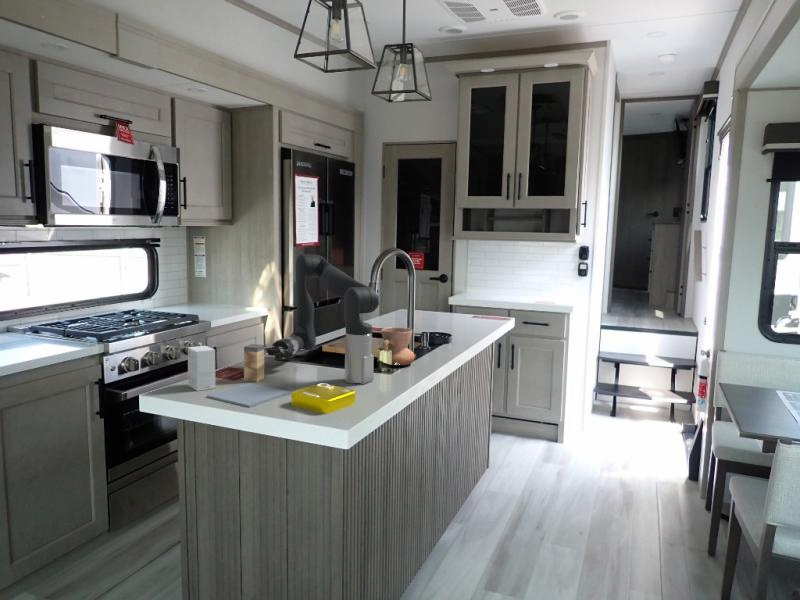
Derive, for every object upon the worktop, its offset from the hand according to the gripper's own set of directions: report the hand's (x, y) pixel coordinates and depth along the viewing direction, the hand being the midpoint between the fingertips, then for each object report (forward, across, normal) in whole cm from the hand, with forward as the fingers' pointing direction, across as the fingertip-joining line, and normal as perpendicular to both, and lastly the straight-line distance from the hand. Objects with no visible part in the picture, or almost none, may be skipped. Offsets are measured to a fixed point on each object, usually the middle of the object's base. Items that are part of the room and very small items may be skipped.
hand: (265, 356), depth 213 cm
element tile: (+26, +33, +7) cm, 42 cm away
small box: (+23, -11, +7) cm, 26 cm away
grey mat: (+26, +8, +6) cm, 28 cm away
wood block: (+8, 0, +7) cm, 11 cm away
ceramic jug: (-33, +40, +7) cm, 52 cm away
